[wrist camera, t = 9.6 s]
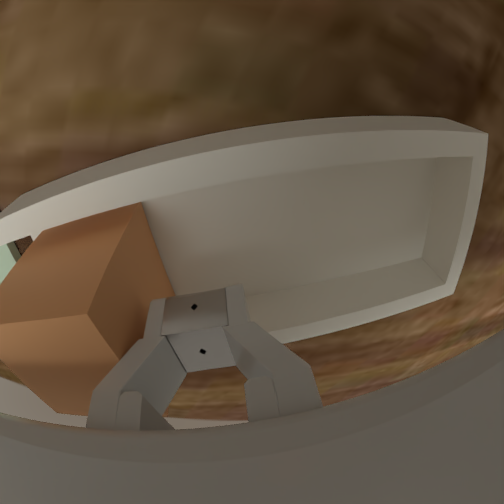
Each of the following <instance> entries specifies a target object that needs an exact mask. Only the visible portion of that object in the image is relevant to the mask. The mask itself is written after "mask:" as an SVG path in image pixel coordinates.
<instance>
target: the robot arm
mask: <svg viewBox="0 0 504 504" xmlns="http://www.w3.org/2000/svg"><path fill="white" fill-rule="evenodd" d="M229 366H236V367H237V368H238V369H239V370H240V371H241V372H242V373H243V374H244V375H245V377H246V378H247V379H248V380H247V381H246V383H245V384H244V387H245V396H246V404H247V413H248V421H249V422H248V423H241V424H234V425H226V426H217V427H208V428H195V429H180V430H175V429H174V428H173V427H172V426H171V425H170V424H169V423H168V422H167V421H166V420H165V419H164V418H163V417H162V415H163V414H164V412H165V410H166V408H167V407H168V405H169V403H170V402H171V400H172V398H173V397H174V395H175V393H176V392H177V390H178V388H179V386H180V385H181V383H182V381H183V380H184V378H185V376H186V375H187V372H194V371H200V370H206V369H213V368H221V367H229ZM0 504H504V329H502V330H501V331H499V332H498V333H496V334H494V335H493V336H491V337H489V338H488V339H486V340H484V341H483V342H481V343H479V344H477V345H476V346H474V347H472V348H470V349H468V350H467V351H465V352H463V353H461V354H459V355H457V356H455V357H453V358H451V359H449V360H447V361H445V362H443V363H441V364H439V365H437V366H435V367H433V368H430V369H428V370H426V371H424V372H421V373H419V374H417V375H414V376H412V377H410V378H407V379H405V380H402V381H400V382H397V383H395V384H392V385H390V386H387V387H384V388H381V389H379V390H376V391H373V392H370V393H367V394H364V395H361V396H358V397H355V398H352V399H349V400H345V401H342V402H339V403H335V404H332V405H328V406H324V407H323V405H322V402H321V399H320V395H319V392H318V389H317V386H316V382H315V379H314V376H313V373H312V370H311V367H310V365H309V364H308V363H307V362H305V361H304V360H303V359H301V358H300V357H299V356H297V355H296V354H295V353H293V352H292V351H291V350H289V349H288V348H287V347H286V346H284V345H283V344H282V343H280V342H279V341H278V340H277V339H275V338H274V337H273V336H271V335H270V334H269V333H268V332H266V331H265V330H264V329H263V328H261V327H260V326H259V325H258V324H256V323H255V322H254V321H252V322H251V320H250V315H249V311H248V306H247V302H246V297H245V293H244V288H243V285H242V284H237V285H232V286H228V287H225V288H220V289H214V290H209V291H204V292H198V293H192V294H185V295H178V296H172V297H167V298H160V299H153V300H152V301H151V302H150V306H149V311H148V316H147V321H146V326H145V331H144V336H143V339H139V340H138V341H137V342H136V343H135V344H134V345H133V346H132V347H131V348H130V349H129V351H128V352H127V353H126V354H125V355H124V356H123V357H122V358H121V359H120V361H119V362H118V363H117V364H116V365H115V366H114V367H113V368H112V370H111V371H110V372H109V373H108V374H107V375H106V376H105V377H104V379H103V380H102V381H101V382H100V383H99V384H98V385H97V387H96V388H95V389H94V390H93V393H92V397H91V402H90V407H89V412H88V418H87V423H86V428H84V427H74V426H66V425H59V424H53V423H46V422H40V421H35V420H29V419H25V418H21V417H16V416H12V415H8V414H4V413H0Z"/></svg>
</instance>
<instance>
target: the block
mask: <svg viewBox="0 0 504 504" xmlns="http://www.w3.org/2000/svg"><path fill="white" fill-rule="evenodd" d="M172 296H176V295H175V293H174V291H173V288H172V286H171V283H170V281H169V278H168V276H167V273H166V270H165V268H164V265H163V263H162V260H161V257H160V255H159V252H158V249H157V247H156V244H155V241H154V238H153V236H152V233H151V230H150V227H149V224H148V221H147V218H146V215H145V212H144V209H143V206H142V203H141V202H138V203H134V204H131V205H127V206H123V207H119V208H116V209H112V210H108V211H105V212H101V213H98V214H94V215H91V216H88V217H84V218H81V219H78V220H74V221H71V222H68V223H65V224H62V225H59V226H55V227H52V228H49V229H46V230H43V231H42V232H41V233H40V234H39V235H38V237H37V238H36V239H35V240H34V241H33V242H32V244H31V245H30V246H29V247H28V249H27V250H26V251H25V252H24V253H23V255H22V256H21V257H20V259H19V260H18V261H17V262H16V264H15V265H14V266H13V268H12V269H11V270H10V272H9V273H8V274H7V276H6V277H5V279H4V280H3V281H2V283H1V284H0V359H1V360H2V361H3V362H4V363H5V365H6V366H7V367H8V368H9V369H10V370H11V371H12V372H13V373H14V374H15V375H16V376H17V377H18V378H19V379H20V380H21V381H22V382H23V383H24V384H25V385H26V386H27V387H28V388H29V389H30V390H31V391H33V392H34V393H35V394H36V395H37V396H38V397H39V398H40V399H41V400H42V401H44V402H45V403H46V404H47V405H48V406H49V407H51V408H52V409H53V410H54V411H55V412H57V413H61V414H71V415H81V416H88V412H89V407H90V402H91V397H92V393H93V390H94V389H95V388H96V387H97V385H98V384H99V383H100V382H101V381H102V380H103V379H104V377H105V376H106V375H107V374H108V373H109V372H110V371H111V370H112V368H113V367H114V366H115V365H116V364H117V363H118V362H119V361H120V359H121V358H122V357H123V356H124V355H125V354H126V353H127V352H128V351H129V349H130V348H131V347H132V346H133V345H134V344H135V343H136V342H137V341H138V340H139V339H143V336H144V331H145V326H146V321H147V316H148V311H149V306H150V302H151V301H152V300H153V299H160V298H167V297H172ZM162 417H168V407H167V408H166V410H165V412H164V414H163V415H162Z"/></svg>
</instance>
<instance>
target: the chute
mask: <svg viewBox="0 0 504 504" xmlns="http://www.w3.org/2000/svg"><path fill="white" fill-rule="evenodd" d="M487 146H488V133H485V132H483V131H480V130H478V129H475V128H472V127H470V126H467V125H464V124H461V123H458V122H456V121H453V120H449V119H446V118H440V117H423V116H352V117H334V118H320V119H308V120H298V121H289V122H281V123H273V124H266V125H259V126H252V127H246V128H240V129H234V130H228V131H223V132H218V133H213V134H208V135H203V136H198V137H194V138H189V139H185V140H181V141H176V142H172V143H168V144H164V145H160V146H157V147H153V148H149V149H146V150H142V151H139V152H135V153H132V154H128V155H125V156H122V157H119V158H115V159H112V160H109V161H106V162H103V163H100V164H97V165H94V166H92V167H89V168H86V169H83V170H80V171H78V172H75V173H72V174H70V175H67V176H65V177H62V178H60V179H57V180H55V181H52V182H50V183H47V184H45V185H43V186H40V187H38V188H36V189H33V190H31V191H29V192H27V193H25V194H22V195H21V196H20V197H18V198H17V199H16V200H15V201H14V202H12V203H11V204H10V205H9V206H8V207H6V208H5V209H4V210H3V211H2V212H1V213H0V246H2V245H4V244H7V243H10V242H12V241H15V240H18V239H21V238H23V237H26V236H29V235H31V237H32V240H33V241H34V240H35V239H36V238H37V237H38V235H39V234H40V233H41V232H42V231H43V230H46V229H49V228H52V227H55V226H59V225H62V224H65V223H68V222H71V221H74V220H78V219H81V218H84V217H88V216H91V215H94V214H98V213H101V212H105V211H108V210H112V209H116V208H119V207H123V206H127V205H131V204H134V203H138V202H141V203H142V206H143V209H144V212H145V215H146V218H147V221H148V224H149V227H150V230H151V233H152V236H153V238H154V241H155V244H156V247H157V249H158V252H159V255H160V257H161V260H162V263H163V265H164V268H165V270H166V273H167V276H168V278H169V281H170V283H171V286H172V288H173V291H174V293H175V295H176V296H178V295H185V294H192V293H198V292H204V291H209V290H214V289H220V288H225V287H228V286H232V285H237V284H242V285H243V288H244V293H245V297H246V302H247V306H248V311H249V315H250V320H251V322H252V321H254V322H255V323H256V324H258V325H259V326H260V327H261V328H263V329H264V330H265V331H266V332H268V333H269V334H270V335H271V336H273V337H274V338H275V339H277V340H278V341H279V342H280V343H282V344H284V343H289V342H294V341H298V340H302V339H307V338H311V337H315V336H319V335H324V334H328V333H331V332H335V331H339V330H343V329H347V328H350V327H354V326H358V325H361V324H365V323H368V322H372V321H375V320H378V319H382V318H385V317H388V316H391V315H395V314H398V313H401V312H404V311H407V310H410V309H413V308H416V307H419V306H422V305H424V304H427V303H430V302H433V301H436V300H438V299H441V298H444V297H446V296H449V295H452V294H453V293H454V291H455V288H456V285H457V282H458V279H459V276H460V273H461V270H462V267H463V264H464V261H465V258H466V254H467V251H468V248H469V244H470V240H471V237H472V233H473V229H474V225H475V220H476V216H477V211H478V207H479V202H480V196H481V191H482V185H483V179H484V172H485V164H486V156H487Z"/></svg>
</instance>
